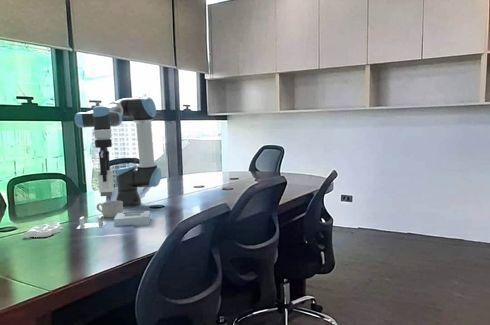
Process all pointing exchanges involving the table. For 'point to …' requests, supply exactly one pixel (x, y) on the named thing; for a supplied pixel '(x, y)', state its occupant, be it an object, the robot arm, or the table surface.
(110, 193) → the plug
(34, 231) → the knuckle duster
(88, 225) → the holster
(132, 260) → the table surface
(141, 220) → the switch box
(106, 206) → the teacup
